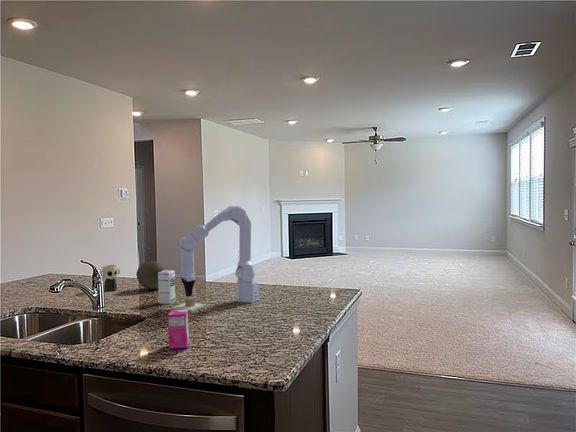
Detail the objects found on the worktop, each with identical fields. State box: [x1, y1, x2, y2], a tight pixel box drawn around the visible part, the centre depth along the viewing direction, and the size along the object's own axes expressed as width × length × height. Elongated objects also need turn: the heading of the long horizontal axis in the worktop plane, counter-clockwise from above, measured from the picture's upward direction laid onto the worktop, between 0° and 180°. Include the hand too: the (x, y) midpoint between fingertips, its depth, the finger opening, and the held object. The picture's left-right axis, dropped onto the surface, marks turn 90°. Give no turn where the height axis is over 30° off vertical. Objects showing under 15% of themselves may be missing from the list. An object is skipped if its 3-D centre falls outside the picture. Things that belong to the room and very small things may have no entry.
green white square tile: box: [170, 302, 207, 312], centre depth 197 cm, size 11×11×1 cm
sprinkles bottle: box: [183, 275, 196, 307], centre depth 196 cm, size 5×5×14 cm
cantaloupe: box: [135, 260, 165, 290], centre depth 236 cm, size 14×14×15 cm
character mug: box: [99, 264, 121, 291], centre depth 236 cm, size 11×7×13 cm, turn 139°
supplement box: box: [167, 309, 190, 351], centre depth 144 cm, size 6×6×12 cm
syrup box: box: [158, 269, 177, 305], centre depth 206 cm, size 6×6×14 cm
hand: (188, 295), depth 196 cm, fingers closed on sprinkles bottle, 4 cm apart
